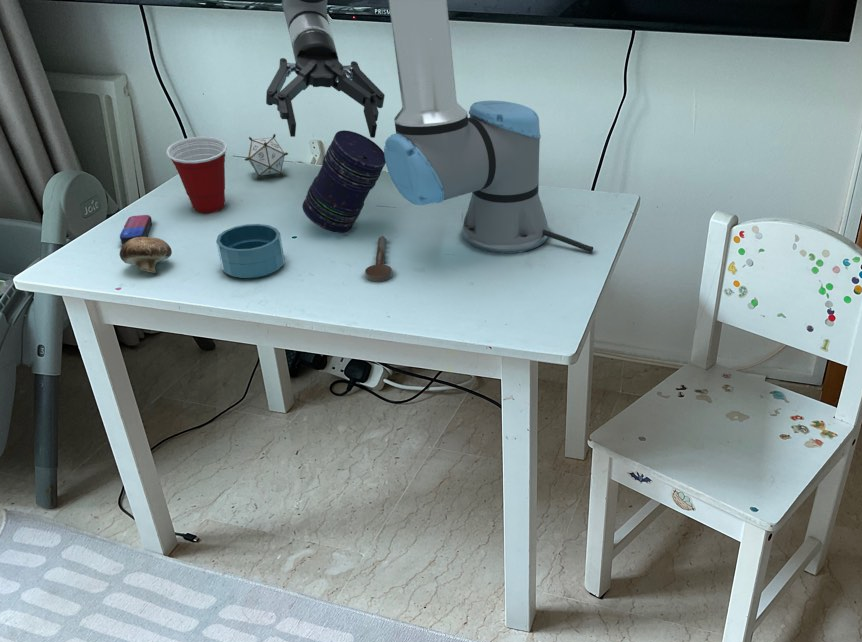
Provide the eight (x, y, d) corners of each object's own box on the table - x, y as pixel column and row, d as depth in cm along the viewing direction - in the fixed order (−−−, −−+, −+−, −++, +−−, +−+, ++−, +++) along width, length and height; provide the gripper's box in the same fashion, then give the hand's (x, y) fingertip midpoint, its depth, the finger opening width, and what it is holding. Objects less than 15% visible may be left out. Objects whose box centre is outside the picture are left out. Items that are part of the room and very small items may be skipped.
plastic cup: (178, 222, 166) (163, 159, 159) (181, 199, 175) (167, 139, 168) (238, 216, 168) (226, 154, 161) (238, 194, 177) (227, 134, 170)
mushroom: (150, 267, 144) (142, 229, 144) (114, 279, 147) (105, 242, 147) (185, 269, 152) (177, 233, 152) (149, 281, 155) (141, 246, 155)
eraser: (131, 222, 166) (128, 213, 165) (154, 220, 167) (151, 211, 166) (119, 247, 157) (117, 237, 156) (143, 245, 158) (141, 236, 157)
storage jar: (297, 192, 163) (328, 123, 154) (346, 205, 168) (379, 139, 160) (307, 226, 157) (341, 157, 148) (358, 239, 162) (393, 172, 154)
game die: (276, 188, 189) (293, 143, 188) (280, 188, 181) (298, 142, 180) (234, 170, 185) (252, 124, 184) (237, 170, 177) (255, 122, 176)
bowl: (295, 257, 154) (290, 227, 151) (266, 284, 146) (260, 253, 143) (242, 250, 157) (236, 220, 153) (211, 276, 149) (204, 246, 145)
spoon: (370, 242, 159) (369, 234, 158) (395, 241, 159) (394, 234, 159) (364, 282, 147) (364, 274, 146) (391, 281, 147) (391, 273, 146)
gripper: (378, 67, 168) (402, 148, 159) (241, 61, 160) (257, 147, 150) (384, 33, 162) (409, 115, 153) (242, 25, 153) (258, 112, 144)
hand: (334, 131), depth 151 cm, fingers open, 13 cm apart
